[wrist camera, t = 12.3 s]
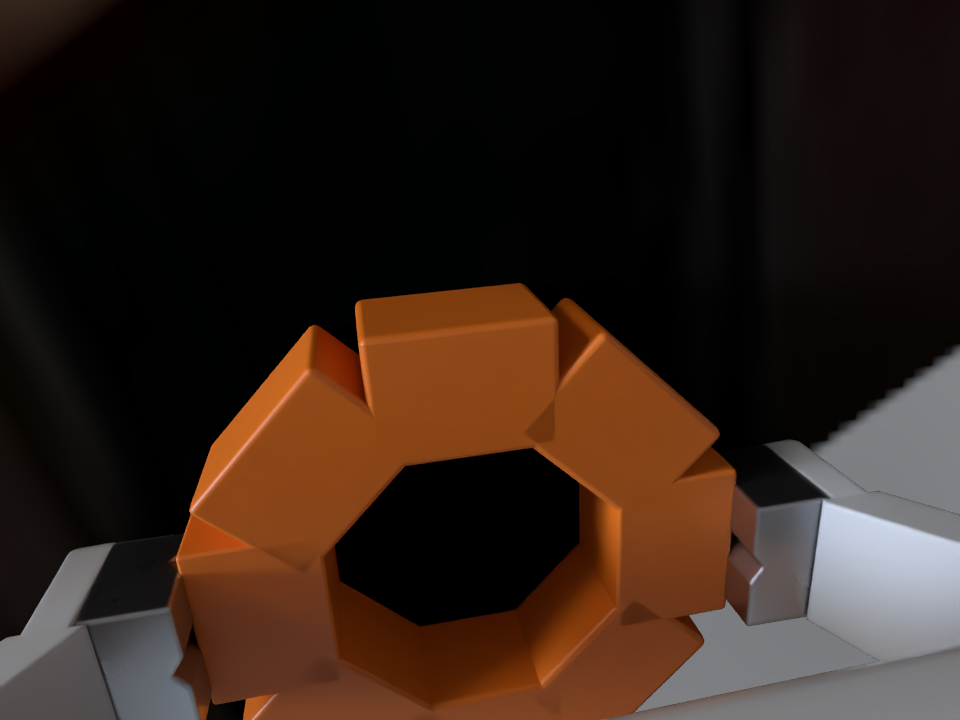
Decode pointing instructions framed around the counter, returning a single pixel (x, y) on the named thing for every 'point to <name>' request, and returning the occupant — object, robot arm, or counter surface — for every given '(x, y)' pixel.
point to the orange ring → (443, 436)
